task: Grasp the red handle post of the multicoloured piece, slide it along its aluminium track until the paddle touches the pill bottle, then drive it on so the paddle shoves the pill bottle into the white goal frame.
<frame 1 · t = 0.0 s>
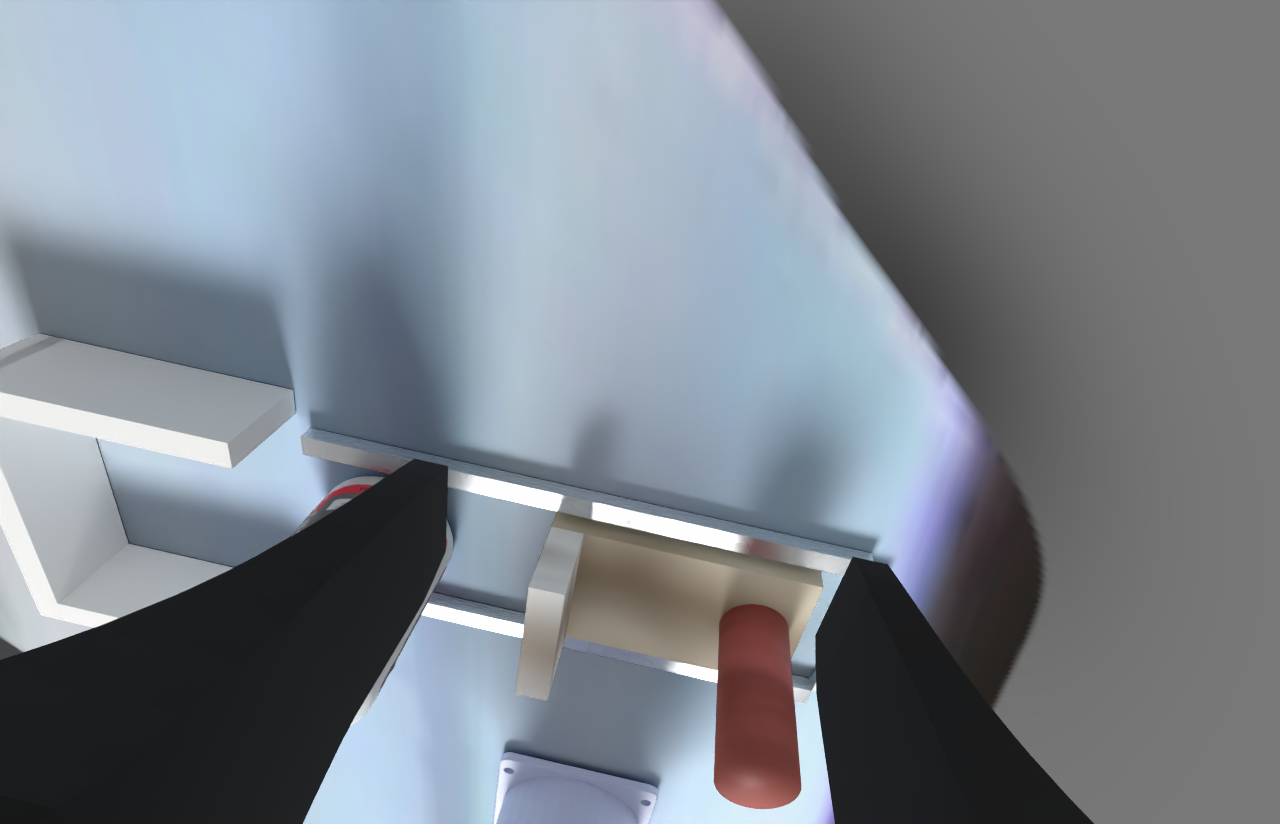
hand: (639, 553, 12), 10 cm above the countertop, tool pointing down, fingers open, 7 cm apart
pill bottle: (394, 523, 26), on the countertop
multicoloured piece: (664, 664, 23), point 3 cm above the countertop, slide at 0.0 cm
goal frame: (198, 483, 26), on the countertop
track: (574, 568, 26), on the countertop
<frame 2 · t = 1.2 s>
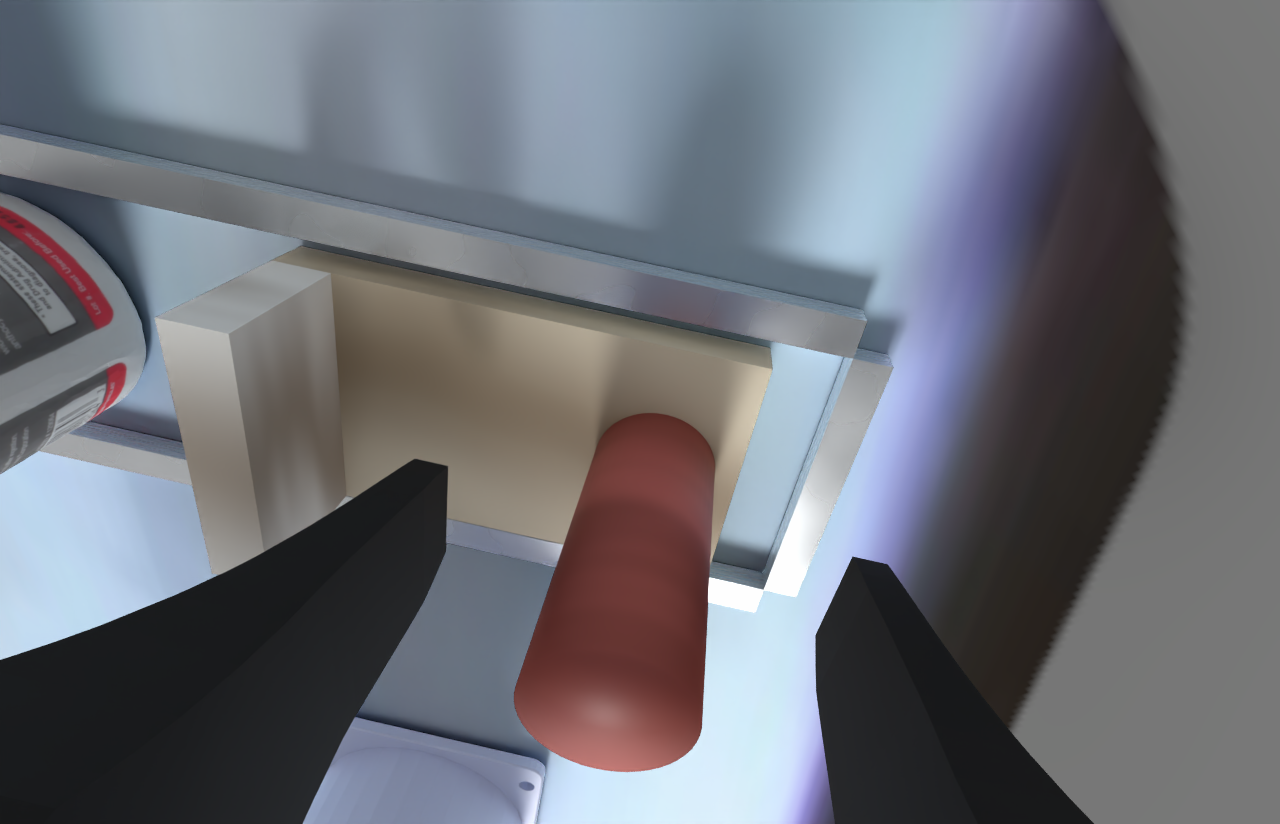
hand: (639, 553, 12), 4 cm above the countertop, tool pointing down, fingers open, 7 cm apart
pill bottle: (50, 300, 15), on the countertop
multicoloured piece: (468, 504, 12), point 4 cm above the countertop, slide at 0.0 cm
track: (353, 373, 15), on the countertop
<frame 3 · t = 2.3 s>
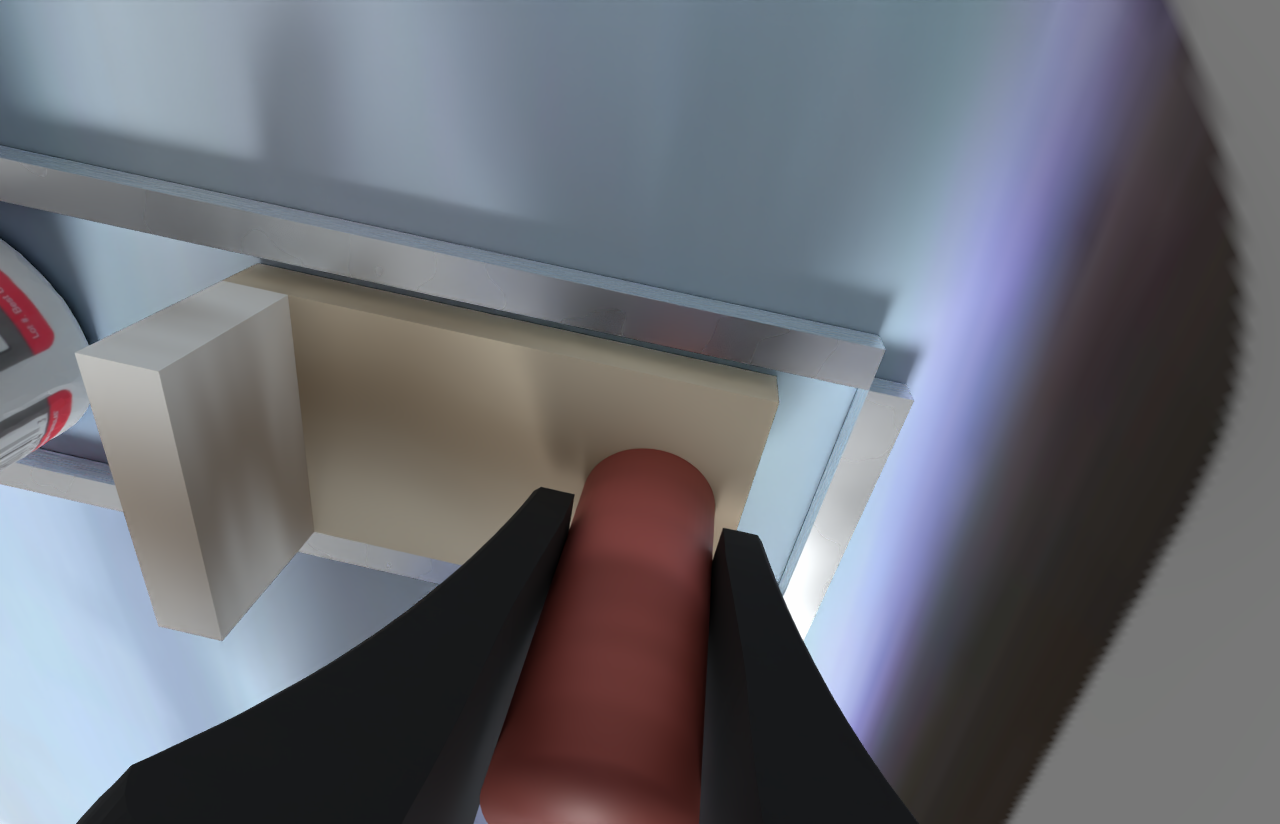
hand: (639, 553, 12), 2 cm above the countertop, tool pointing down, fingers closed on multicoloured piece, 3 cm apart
multicoloured piece: (439, 556, 11), point 4 cm above the countertop, slide at 0.0 cm, touching gripper
track: (320, 399, 14), on the countertop
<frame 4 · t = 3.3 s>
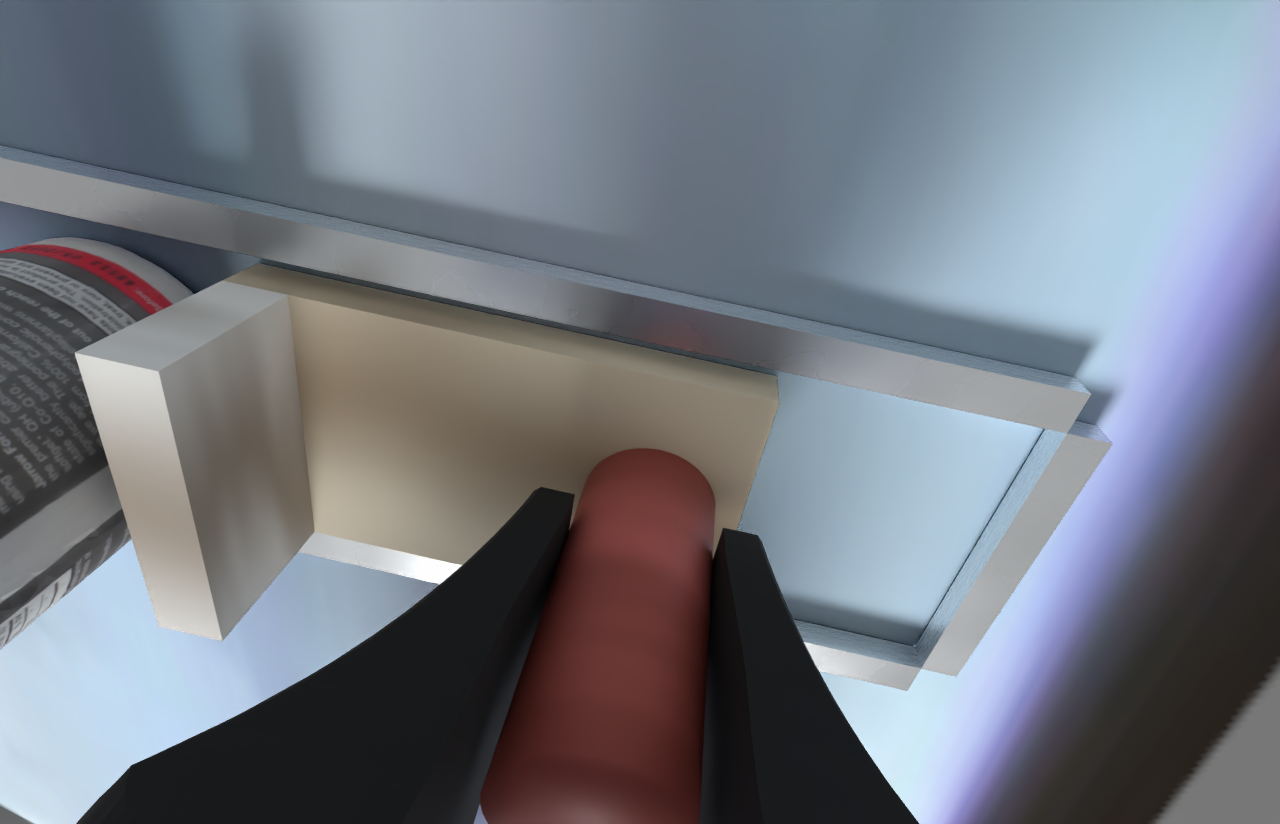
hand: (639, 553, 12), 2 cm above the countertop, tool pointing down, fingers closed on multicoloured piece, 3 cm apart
pill bottle: (146, 354, 14), on the countertop
multicoloured piece: (439, 556, 11), point 3 cm above the countertop, slide at 3.5 cm, touching gripper
track: (480, 435, 14), on the countertop
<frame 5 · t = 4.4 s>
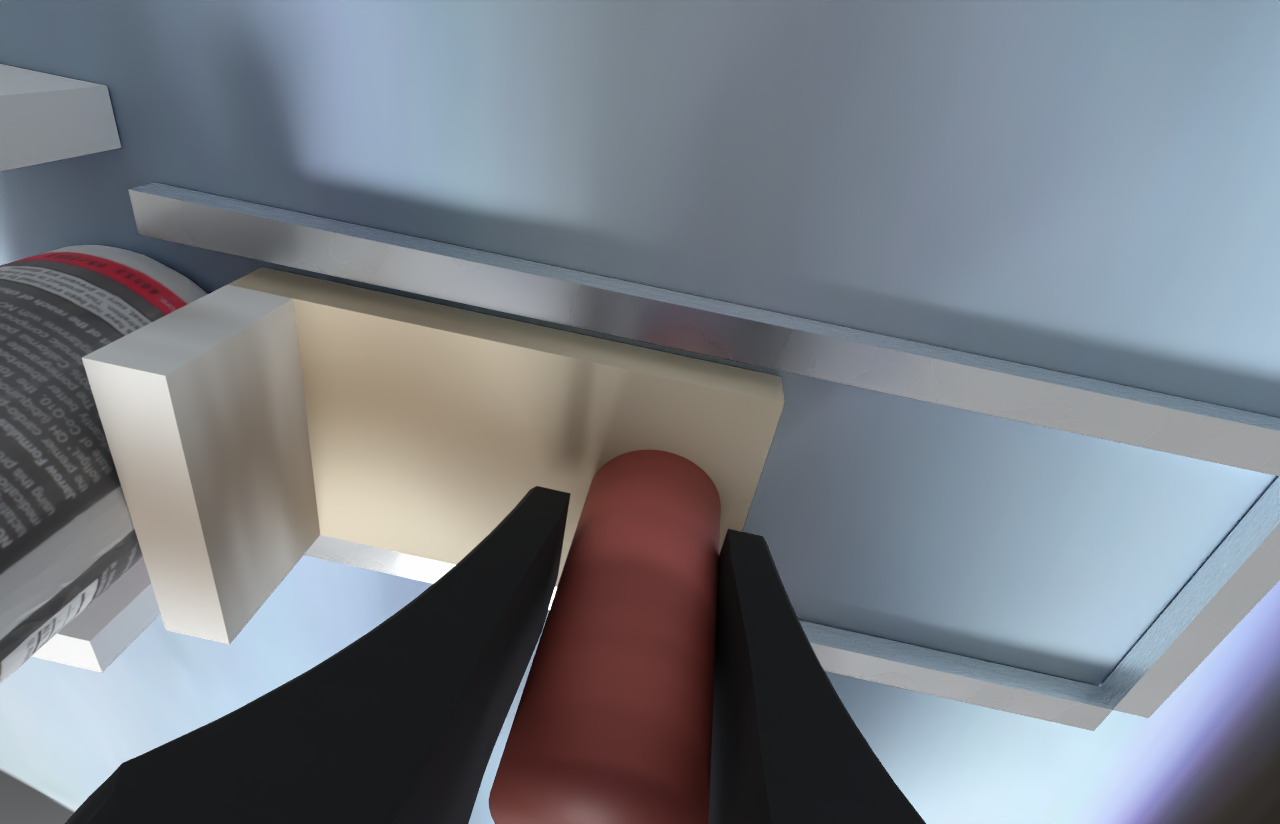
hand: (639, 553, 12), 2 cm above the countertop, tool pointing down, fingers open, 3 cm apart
pill bottle: (165, 361, 14), on the countertop, touching multicoloured piece
multicoloured piece: (445, 558, 11), point 4 cm above the countertop, slide at 7.6 cm, touching gripper, pill bottle
track: (679, 479, 14), on the countertop
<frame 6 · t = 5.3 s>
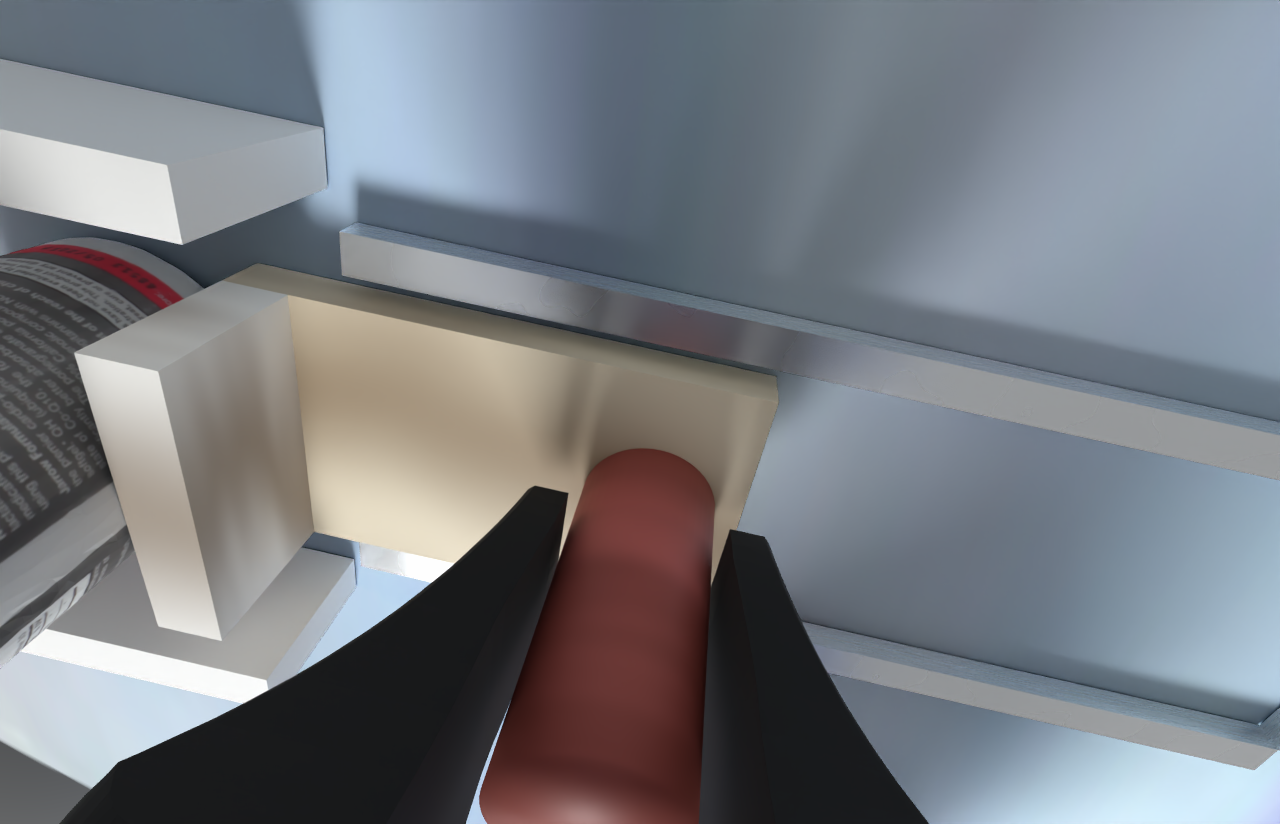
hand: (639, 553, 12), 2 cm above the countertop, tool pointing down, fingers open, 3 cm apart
pill bottle: (160, 354, 14), on the countertop
multicoloured piece: (439, 556, 11), point 4 cm above the countertop, slide at 11.5 cm
goal frame: (138, 359, 14), on the countertop
track: (856, 519, 14), on the countertop
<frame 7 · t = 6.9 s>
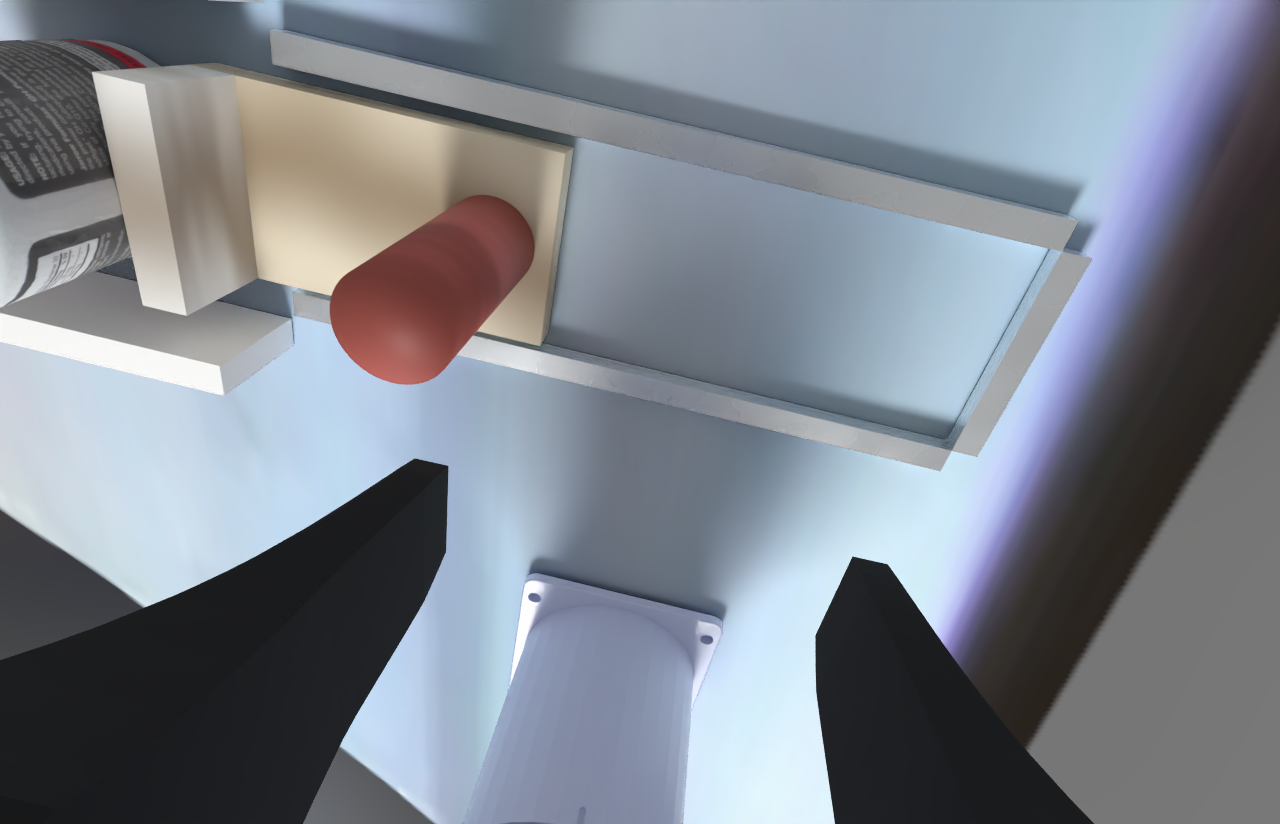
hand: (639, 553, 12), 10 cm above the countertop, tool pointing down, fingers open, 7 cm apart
pill bottle: (147, 143, 19), on the countertop
multicoloured piece: (330, 241, 16), point 3 cm above the countertop, slide at 11.5 cm
goal frame: (131, 144, 19), on the countertop
track: (643, 267, 19), on the countertop
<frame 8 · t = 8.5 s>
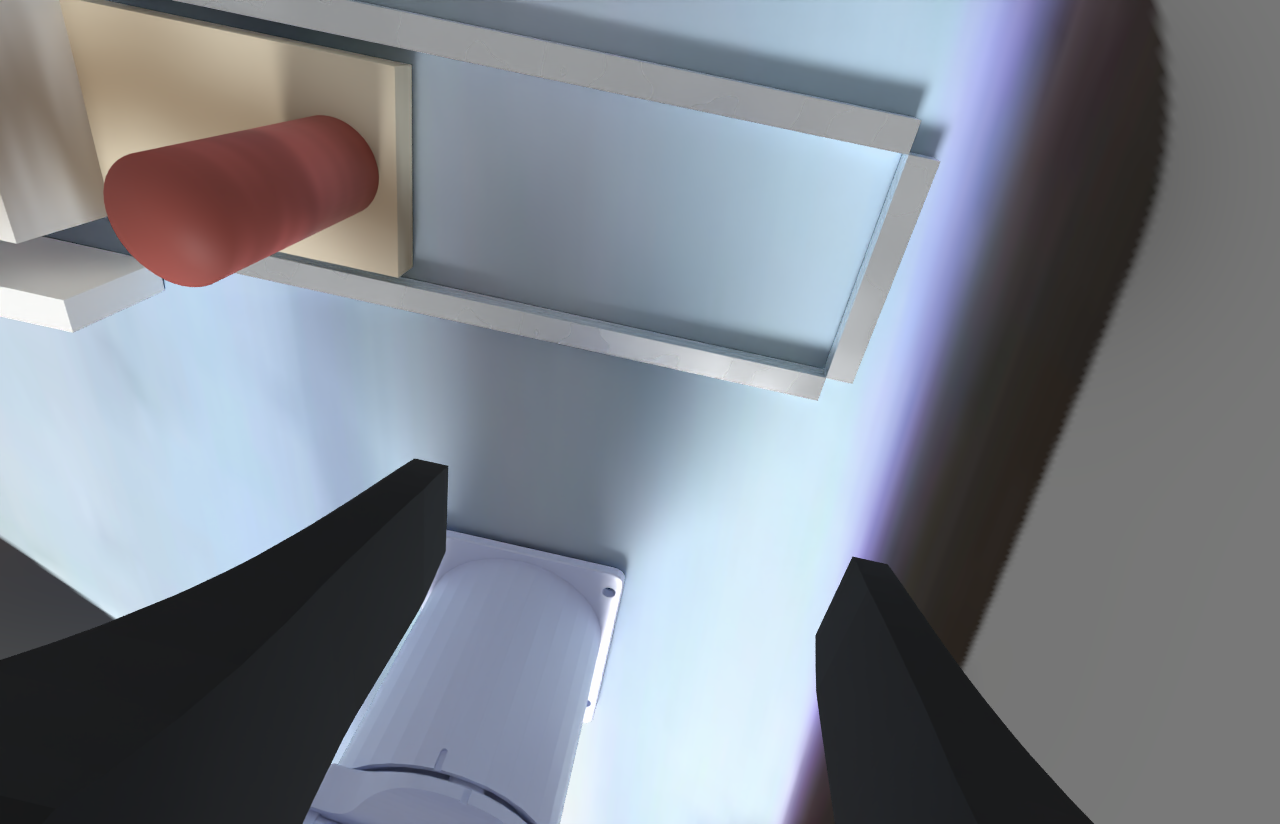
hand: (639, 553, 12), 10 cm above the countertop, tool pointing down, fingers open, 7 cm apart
multicoloured piece: (149, 158, 16), point 4 cm above the countertop, slide at 11.5 cm
track: (497, 191, 19), on the countertop
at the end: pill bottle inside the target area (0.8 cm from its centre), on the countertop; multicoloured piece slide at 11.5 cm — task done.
